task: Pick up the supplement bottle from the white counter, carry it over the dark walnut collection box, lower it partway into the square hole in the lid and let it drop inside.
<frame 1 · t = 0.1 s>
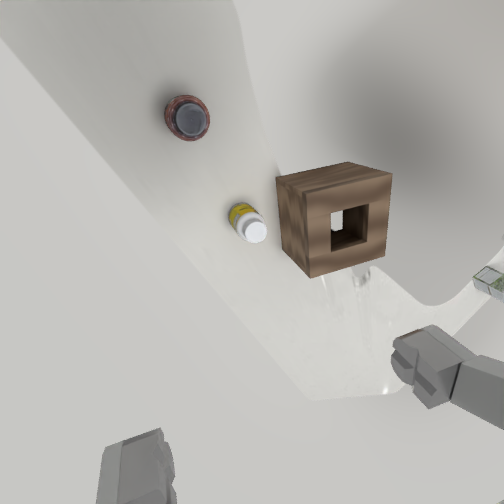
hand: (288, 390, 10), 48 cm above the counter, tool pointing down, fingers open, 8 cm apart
supplement bottle 2: (182, 116, 48), on the counter
supplement bottle: (240, 215, 59), on the counter
collection box: (314, 207, 63), on the counter
syrup box: (479, 276, 92), on the counter
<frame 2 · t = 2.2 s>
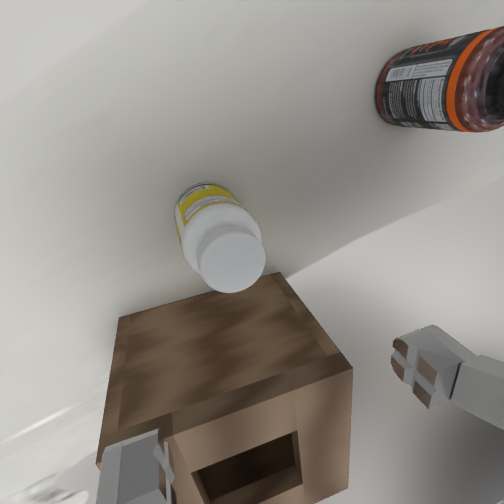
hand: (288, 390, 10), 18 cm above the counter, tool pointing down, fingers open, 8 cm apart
supplement bottle 2: (400, 89, 26), on the counter
supplement bottle: (206, 212, 26), on the counter
collection box: (219, 351, 33), on the counter
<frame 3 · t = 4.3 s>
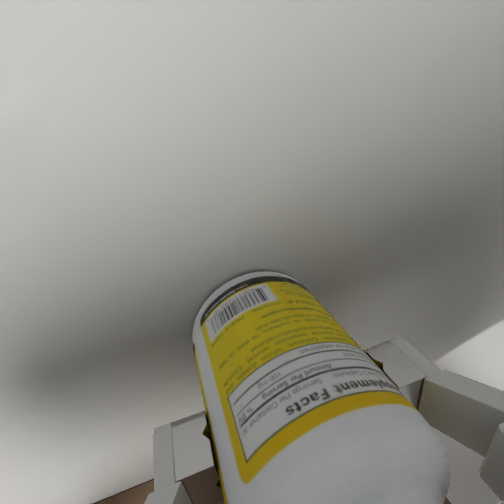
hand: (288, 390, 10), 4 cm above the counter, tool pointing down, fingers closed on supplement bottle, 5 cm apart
supplement bottle: (252, 318, 13), on the counter, touching gripper
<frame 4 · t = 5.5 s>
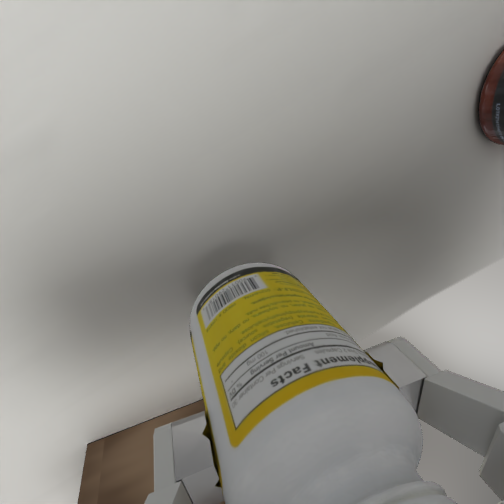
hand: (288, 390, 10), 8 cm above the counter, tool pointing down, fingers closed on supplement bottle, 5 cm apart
supplement bottle: (247, 308, 14), point 3 cm above the counter, touching gripper
collection box: (236, 460, 23), on the counter
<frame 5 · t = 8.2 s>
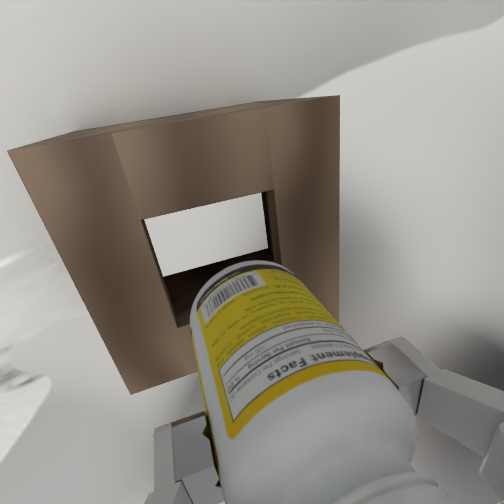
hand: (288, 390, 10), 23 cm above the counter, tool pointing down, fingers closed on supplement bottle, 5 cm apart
supplement bottle: (247, 305, 14), point 18 cm above the counter, touching gripper
collection box: (194, 203, 29), on the counter
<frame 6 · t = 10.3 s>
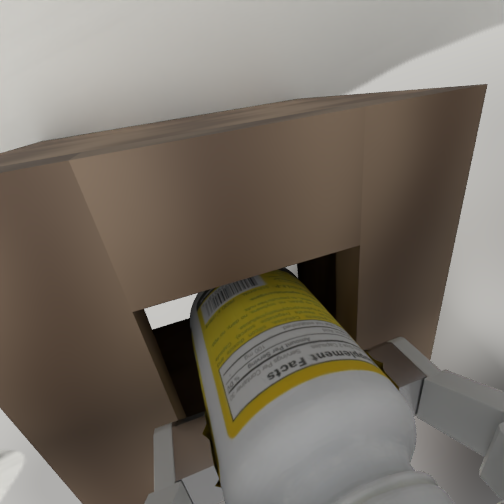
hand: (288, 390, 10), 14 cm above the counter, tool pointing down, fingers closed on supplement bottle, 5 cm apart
supplement bottle: (246, 305, 14), point 10 cm above the counter, touching gripper
collection box: (207, 233, 22), on the counter
when the fingers open (14 cm above the counter, at t = 10.8 s): supplement bottle drops 10 cm, resting in collection box.
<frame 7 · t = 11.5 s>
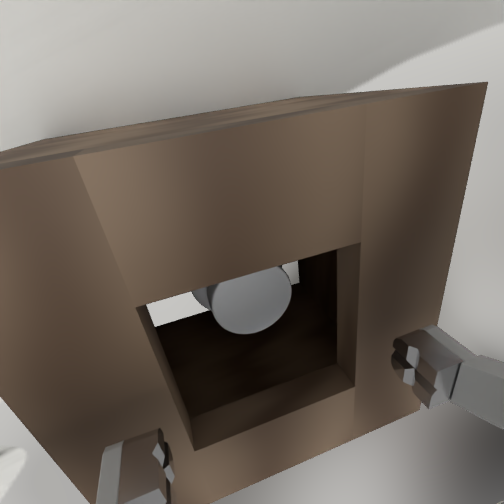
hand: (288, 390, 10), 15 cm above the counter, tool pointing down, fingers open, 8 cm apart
supplement bottle: (212, 229, 22), resting in collection box
collection box: (209, 232, 22), on the counter
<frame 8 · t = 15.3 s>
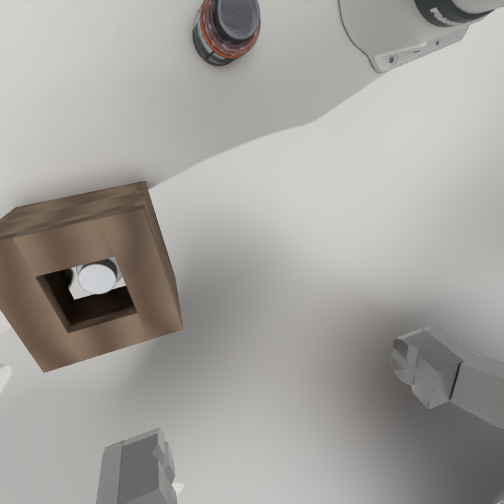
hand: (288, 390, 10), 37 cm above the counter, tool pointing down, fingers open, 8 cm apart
supplement bottle 2: (215, 38, 36), on the counter
supplement bottle: (107, 245, 43), resting in collection box
collection box: (105, 247, 43), on the counter
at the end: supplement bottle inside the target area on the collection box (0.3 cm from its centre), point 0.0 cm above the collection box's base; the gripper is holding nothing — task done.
